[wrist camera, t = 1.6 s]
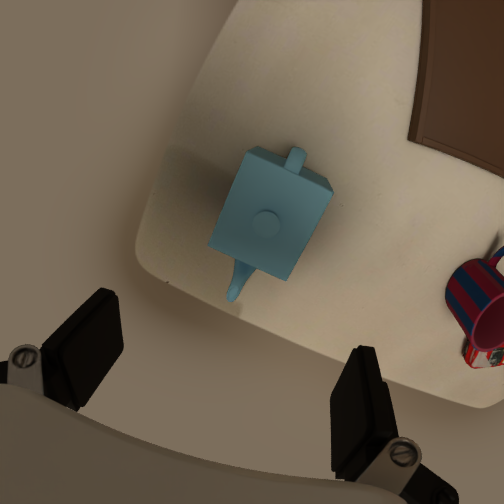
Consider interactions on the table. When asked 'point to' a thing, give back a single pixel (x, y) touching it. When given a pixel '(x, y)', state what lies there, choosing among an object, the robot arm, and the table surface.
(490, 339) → the mug
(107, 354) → the robot arm
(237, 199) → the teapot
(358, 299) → the table surface
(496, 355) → the race car
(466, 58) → the tray
